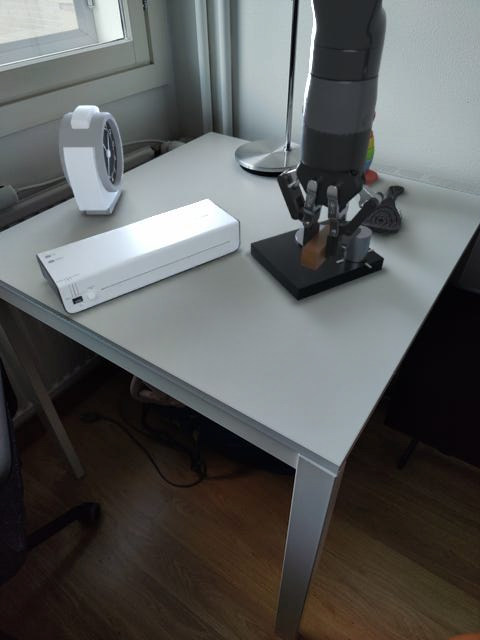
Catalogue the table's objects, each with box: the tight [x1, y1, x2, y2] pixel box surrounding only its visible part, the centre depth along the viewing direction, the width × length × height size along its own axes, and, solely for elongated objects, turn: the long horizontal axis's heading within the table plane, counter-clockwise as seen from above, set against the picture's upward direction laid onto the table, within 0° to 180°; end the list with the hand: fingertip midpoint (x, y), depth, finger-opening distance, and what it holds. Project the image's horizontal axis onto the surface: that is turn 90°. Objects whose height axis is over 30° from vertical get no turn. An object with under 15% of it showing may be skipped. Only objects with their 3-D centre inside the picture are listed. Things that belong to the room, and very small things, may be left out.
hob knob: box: [344, 226, 373, 262], centre depth 80 cm, size 4×4×5 cm
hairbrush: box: [360, 184, 405, 235], centre depth 97 cm, size 8×4×25 cm
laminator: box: [35, 198, 241, 315], centre depth 82 cm, size 34×12×6 cm, turn 124°
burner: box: [296, 225, 325, 247], centre depth 86 cm, size 9×9×1 cm
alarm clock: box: [58, 105, 125, 215], centre depth 97 cm, size 18×8×20 cm, turn 179°
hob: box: [250, 218, 385, 302], centre depth 84 cm, size 18×17×3 cm
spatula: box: [301, 224, 361, 270], centre depth 62 cm, size 12×4×3 cm, turn 146°
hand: (320, 252), depth 61 cm, fingers closed on spatula, 2 cm apart
